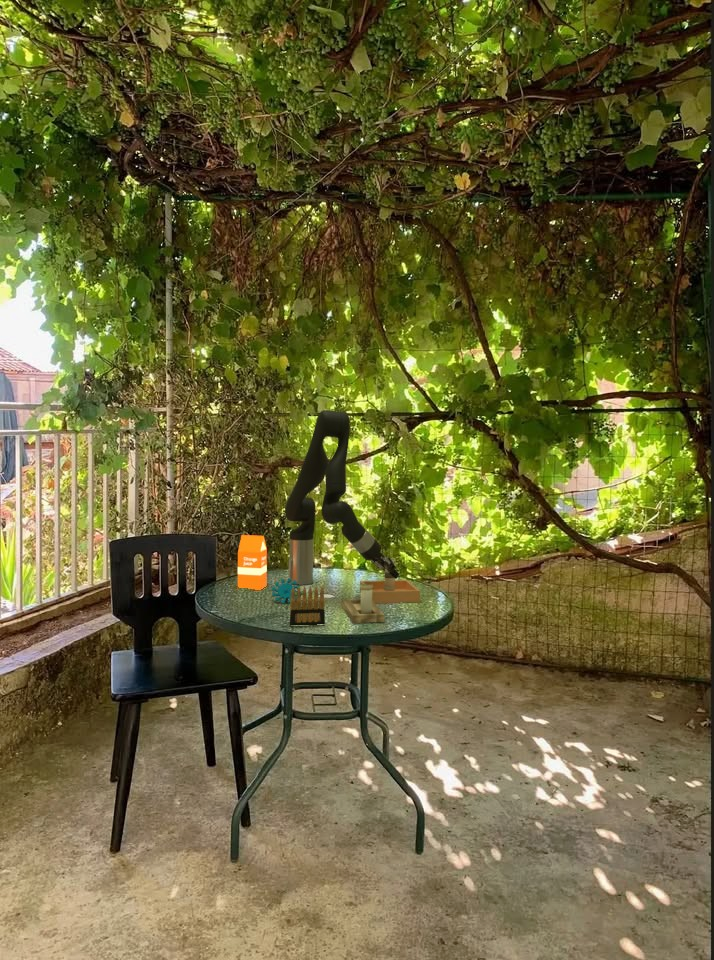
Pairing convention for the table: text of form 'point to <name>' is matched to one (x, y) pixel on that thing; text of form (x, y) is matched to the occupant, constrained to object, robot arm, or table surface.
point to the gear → (285, 590)
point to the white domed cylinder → (389, 580)
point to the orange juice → (252, 562)
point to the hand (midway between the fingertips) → (394, 575)
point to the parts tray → (394, 592)
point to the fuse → (366, 598)
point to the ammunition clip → (307, 607)
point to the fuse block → (353, 611)
